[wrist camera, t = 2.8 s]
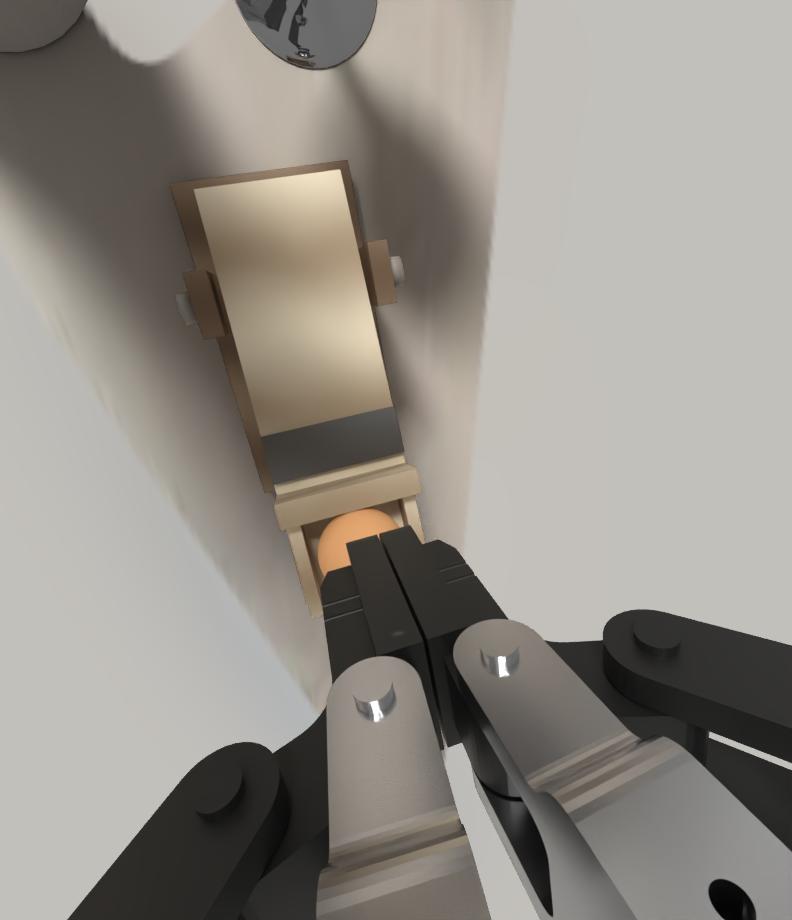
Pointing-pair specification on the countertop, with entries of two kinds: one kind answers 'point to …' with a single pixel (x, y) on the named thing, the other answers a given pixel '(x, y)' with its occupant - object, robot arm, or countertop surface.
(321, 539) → the ball
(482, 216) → the countertop surface
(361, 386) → the lever
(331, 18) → the wine glass
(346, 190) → the stand
